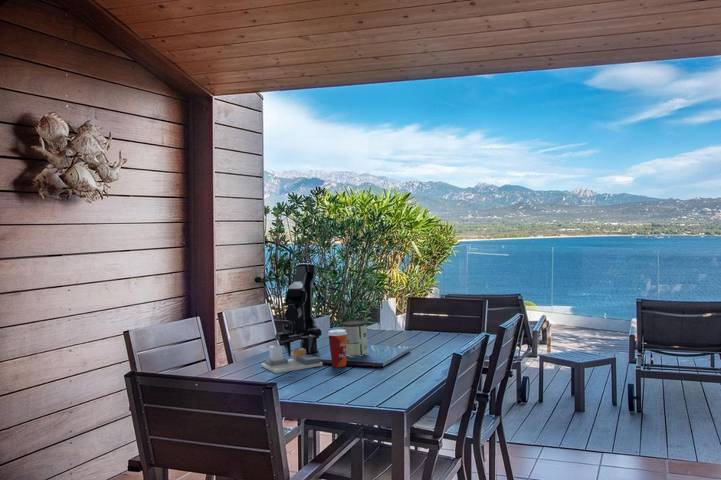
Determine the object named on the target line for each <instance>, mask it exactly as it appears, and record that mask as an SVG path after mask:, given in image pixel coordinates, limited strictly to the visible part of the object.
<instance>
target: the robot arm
mask: <svg viewBox="0 0 721 480" xmlns="http://www.w3.org/2000/svg"><path fill="white" fill-rule="evenodd" d="M317 272H318V271H317V266H316V265H315V264H314V263H307V262H301V263H299V262H298V263H297V264H296V265H295V276H294V277H293V278H294V279H293V281H292V283H291V284H290V285H288V288H287V290H286V293H285V303H284V305H285V306H288V307H287V308H286V310H285V312H284V317H285V319H286V320H287V321H288V322H289V323H287V322H284V323H281V328H282V329H281V330H282V331H283V332H282V331H281V332H276V334H275V336H274V337H275V341H278V342H280V343H281V344H282V345H283V347H284V348H285V351H286V353H287V355H288V357H289V358H291V356H292V355H291V353H292V352H291V351H292V350H291V340H290V339H292V338H297V339H298V340H300V343H299V348H304V349H306V355H312V354H313V353H314V354H316V353H319V350H318V343H317V342H318V339H320V336H323V335H322V334H323V333H322V329H320V328H318V326H317V324H316V323H317V322H316V320H315V319H314V317H313V283H314V282H315V280H316V275H317V274H318V273H317Z"/></svg>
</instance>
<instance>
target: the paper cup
mask: <svg viewBox="0 0 721 480" xmlns="http://www.w3.org/2000/svg"><path fill="white" fill-rule="evenodd" d="M346 334H347V333H346V330H343V328H342V329H341V328H340V329H332V330H331V329H330V330H329V331H328V334H327V336H328V340H329V341H328V342H329V349H330V359H331V366H332V368H344V367H346V366H347V357H346Z"/></svg>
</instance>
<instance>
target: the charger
mask: <svg viewBox="0 0 721 480" xmlns="http://www.w3.org/2000/svg"><path fill="white" fill-rule="evenodd" d="M268 350H269V359H270V361H272V362H274V361H281V360H283V358H284V357H283V346H282V345H280V344H276V345H269V346H268Z"/></svg>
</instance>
